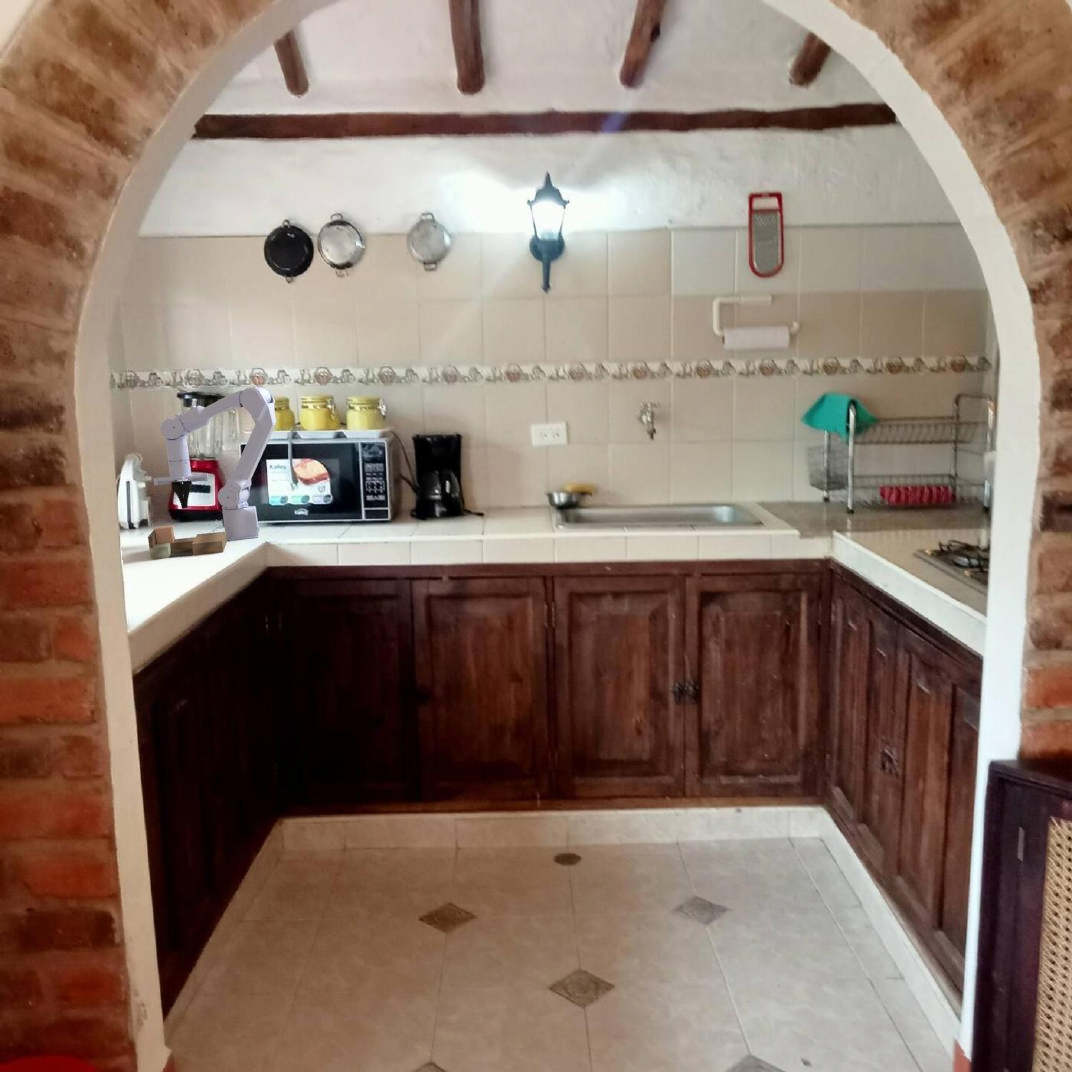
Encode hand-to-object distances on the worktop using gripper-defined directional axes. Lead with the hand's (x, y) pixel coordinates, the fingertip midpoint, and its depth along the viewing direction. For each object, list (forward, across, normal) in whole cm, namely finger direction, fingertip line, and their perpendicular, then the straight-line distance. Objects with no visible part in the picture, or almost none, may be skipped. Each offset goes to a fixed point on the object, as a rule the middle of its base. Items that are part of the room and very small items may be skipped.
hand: (184, 508), depth 270 cm
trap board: (+9, +2, -18) cm, 20 cm away
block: (+6, -4, -18) cm, 19 cm away
